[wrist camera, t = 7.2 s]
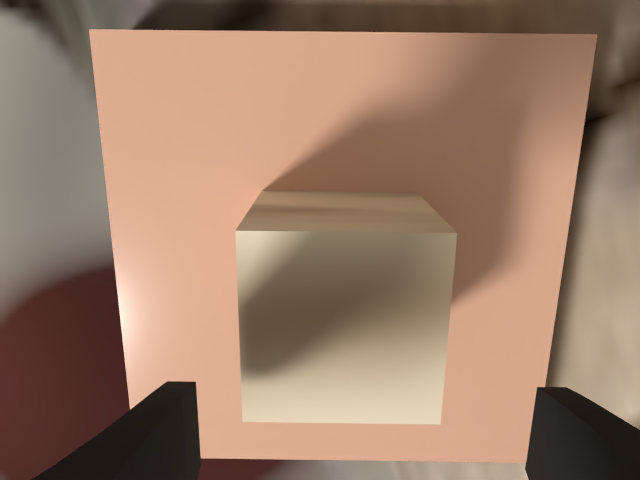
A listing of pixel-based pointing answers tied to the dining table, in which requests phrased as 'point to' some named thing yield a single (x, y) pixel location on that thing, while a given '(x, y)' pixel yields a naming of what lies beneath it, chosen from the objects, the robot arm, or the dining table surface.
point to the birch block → (343, 307)
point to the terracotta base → (342, 176)
